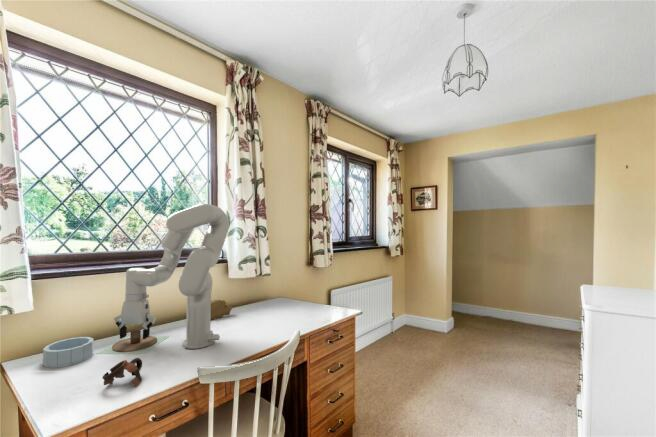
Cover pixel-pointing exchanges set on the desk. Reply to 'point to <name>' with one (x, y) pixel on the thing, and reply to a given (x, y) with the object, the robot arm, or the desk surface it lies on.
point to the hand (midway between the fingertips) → (134, 337)
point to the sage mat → (142, 351)
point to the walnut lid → (134, 342)
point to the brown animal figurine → (119, 371)
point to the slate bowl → (68, 352)
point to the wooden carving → (219, 309)
